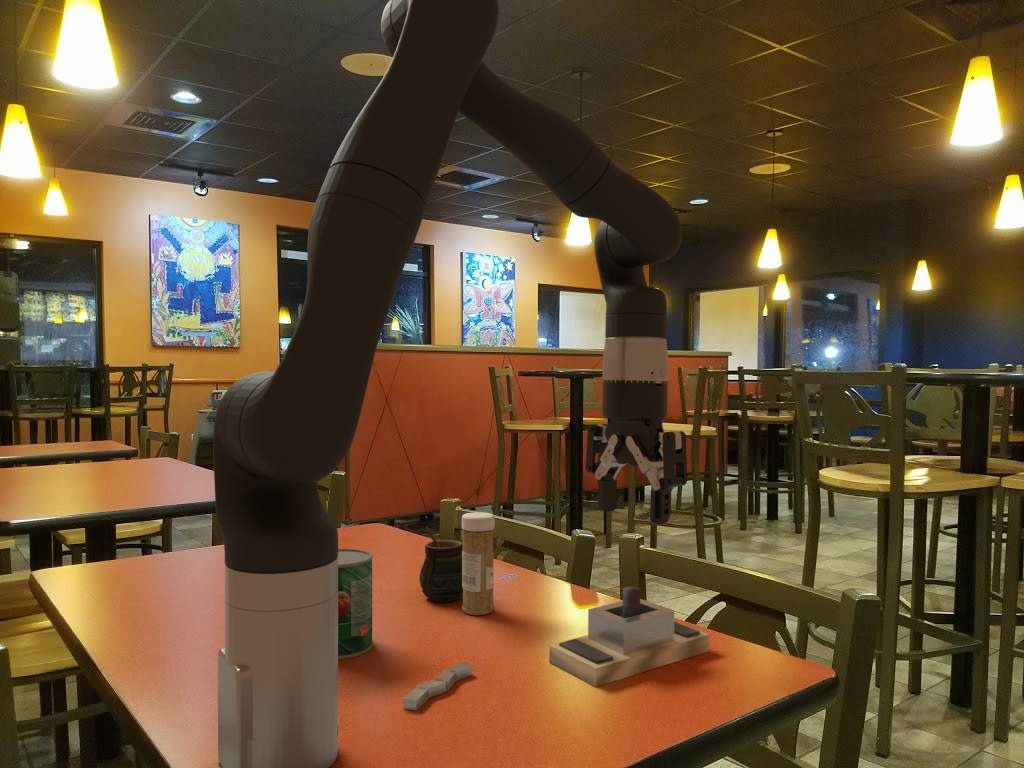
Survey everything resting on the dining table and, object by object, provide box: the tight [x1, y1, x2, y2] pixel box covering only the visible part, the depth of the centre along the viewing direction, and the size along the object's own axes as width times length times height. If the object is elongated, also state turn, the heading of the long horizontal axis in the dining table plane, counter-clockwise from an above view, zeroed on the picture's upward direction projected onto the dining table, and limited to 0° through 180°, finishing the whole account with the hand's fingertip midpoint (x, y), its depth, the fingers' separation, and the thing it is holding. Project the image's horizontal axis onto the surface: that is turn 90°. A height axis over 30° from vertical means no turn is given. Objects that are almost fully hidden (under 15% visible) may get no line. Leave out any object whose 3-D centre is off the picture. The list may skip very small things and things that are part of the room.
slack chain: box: [402, 661, 473, 711], centre depth 78 cm, size 11×2×1 cm, turn 149°
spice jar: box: [461, 511, 496, 616], centre depth 103 cm, size 5×5×13 cm
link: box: [587, 598, 675, 655], centre depth 87 cm, size 8×6×4 cm
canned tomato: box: [338, 548, 374, 660], centre depth 90 cm, size 8×8×11 cm
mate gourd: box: [418, 526, 463, 603], centre depth 109 cm, size 7×8×10 cm
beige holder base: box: [548, 585, 710, 688], centre depth 87 cm, size 18×8×8 cm, turn 125°
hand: (632, 516), depth 87 cm, fingers open, 8 cm apart
